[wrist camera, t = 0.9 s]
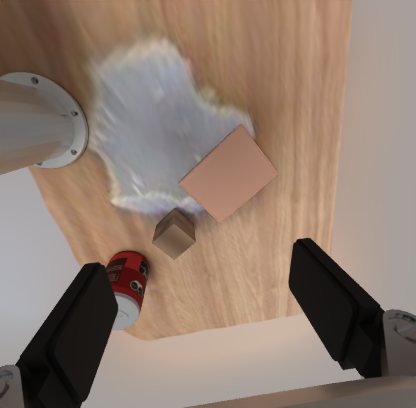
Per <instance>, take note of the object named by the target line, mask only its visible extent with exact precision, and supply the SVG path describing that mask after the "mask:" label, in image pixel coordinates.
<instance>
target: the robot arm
mask: <svg viewBox="0 0 416 408" xmlns="http://www.w3.org/2000/svg"><path fill="white" fill-rule="evenodd" d="M38 81H39V83H38ZM76 112H78V115H76ZM87 142H88V126H87V122H86V118H85V116H84V114H83V111H82V109H81V108H80V106H79V105H78V103H77V102H76V100H75V99H74V98H73V97H72V96H71V95H70V93H68V92H67V91H66V90H65V89H64V88H63V87H61V86H60V85H58V84H57V83H55V82H54V81H52V80H50V79H47V78H45V77H43V76H40V75H37V74H33V73H27V72H12V73H8V74H5V75H2V76H1V77H0V175H1V174H5V173H8V172H11V171H14V170H18V169H20V168H24V167H27V166H30V165H32V166H35V167H39V168H45V169H55V168H60V167H64V166H67V165H69V164H71V163H73V162H75V161H76V160H77V159H78V158H79V157H80V156H81V155H82V154H83V152H84V151H85V148H86V146H87ZM75 150H76V151H77V153H76V152H75ZM289 288H290V290H291V292H292V294H293V295H294V297H295V298H296V300H297V302H298V303H299V305H300V307H301V308H302V310H303V312H304V313H305V315H306V316H307V318H308V320H309V321H310V323H311V325H312V326H313V328H314V329H315V331H316V333H317V335H318V336H319V338H320V339H321V341H322V342H323V344H324V346H325V348H326V349H327V351H328V352H329V354H330V356H331V357H332V359H333V360H334V361H338V363H339V364H340V366H341V368H342V369H343V370H346V369H353V368H356V370H357V371H358V373H359V374H360V375H361V380H354V381H346V382H340V383H332V384H326V385H319V386H314V387H307V388H301V389H295V390H289V391H283V392H276V393H270V394H263V395H258V396H251V397H246V398H240V399H233V400H227V401H221V402H215V403H209V404H203V405H198V406H192V407H186V408H416V316H415V315H413V314H411V313H408V312H405V311H401V310H394V309H392V310H387V311H386V312H385V311H384V310H383V309H382V308H381V307H380V305H379V304H378V303H377V302H376V301H375V300H374V299H373V298H372V297H371V296H370V295H369V294H368V293H367V292H366V291H365V290H364V289H363V288H362V287H361V286H359V284H357V283H356V282H355V281H354V280H353V279H352V278H351V277H350V276H349V275H348V274H347V273H346V272H345V271H344V270H343V269H342V268H341V267H340V266H339V265H338V264H337V263H336V262H335V261H334V260H333V259H331V258H330V257H329V256H328V255H327V254H326V253H325V252H324V251H323V250H322V249H321V248H320V247H319V246H318V245H317V244H316V243H315V242H314V241H313V240H312V239H310V238H304V239H298V240H297V241H296V242H295V243H294V244H293V250H292V258H291V266H290V274H289ZM117 313H118V303H117V300H116V297H115V294H114V292H113V289H112V286H111V283H110V280H109V277H108V274H107V271H106V268H105V266H104V265H101V264H100V263H99V262H97V263H88V264H85V265H84V266H83V267H82V269H81V270H80V272H79V273H78V274H77V276H76V277H75V279H74V280H73V282H72V283H71V284H70V286H69V287H68V289H67V290H66V292H65V293H64V294H63V296H62V297H61V299H60V300H59V301H58V303H57V304H56V306H55V307H54V309H53V310H52V312H51V313H50V314H49V316H48V317H47V319H46V320H45V321H44V323H43V324H42V326H41V327H40V329H39V330H38V331H37V333H36V334H35V336H34V337H33V339H32V340H31V341H30V343H29V344H28V346H27V347H26V349H25V350H24V351H23V353H22V354H21V356H20V359H19V360H18V362H17V363H16V364H15V365H5V366H2V367H0V408H80V407H81V404H82V402H84V401H85V400H86V399H87V397H88V395H89V392H90V389H91V386H92V384H93V381H94V378H95V375H96V372H97V369H98V367H99V364H100V361H101V358H102V356H103V353H104V350H105V347H106V344H107V342H108V339H109V336H110V333H111V330H112V328H113V325H114V322H115V319H116V316H117Z"/></svg>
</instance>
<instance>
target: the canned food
mask: <svg viewBox="0 0 416 408" xmlns="http://www.w3.org/2000/svg"><path fill="white" fill-rule="evenodd" d="M106 271H107V274H108V277H109V280H110V283H111V286H112V289H113V292H114V294H115V297H116V300H117V303H118V313H117V316H116V319H115V322H114V325H113V328H112V330H121V329H125V328H128V327H130V326H132V325H133V324H134V323H135V322H136V321H137V320H138V317H139V315H140V311H141V307H142V302H143V298H144V293H145V288H146V284H147V279H148V274H149V265H148V262H147V260H146V259H145V258H144V257H143V256H142V255H140V254H138V253H136V252H132V251H124V252H120V253H118V254H116V255H115V256H114V257H112V258H111V260H110V261H109V263H108V265H107V267H106Z"/></svg>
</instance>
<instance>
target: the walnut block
mask: <svg viewBox="0 0 416 408" xmlns="http://www.w3.org/2000/svg"><path fill="white" fill-rule="evenodd" d="M195 242H196V239H195V230H194V224H193V223H192V222H191V221H189V220H188V219H187V218H186V217H185V216H184V215H183V214H182V213H180V212H179V211H178V210H177V209H176V208H174V209H173V210H172V211H171V212H170V213H169V214H168V215H167V216H166V217H165V218H163V219H162V220H161V221H160V222H159V223H158V224H157V225H156V229H155V233H154V237H153V241H152V243H153V244H154V245H155V246H157V247H158V248H160V249H161V250H162V251H164V252H165V253H166V254H168V255H169V256H170V257H172V258H173V259H174V260H175V259H176V258H177V257H179V256H180V255H181V254H182V253H183V252H184V251H186V250H187V249H188V248H189V247H190V246H191V245H193V244H194V243H195Z"/></svg>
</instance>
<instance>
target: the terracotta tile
mask: <svg viewBox="0 0 416 408" xmlns="http://www.w3.org/2000/svg"><path fill="white" fill-rule="evenodd" d="M278 174H279V173H278V172H277V170H276V169H275V168H274V166H273V165H272V164H271V162H270V161H269V160H268V159H267V157H266V156H265V155H264V153H263V152H262V151H261V149H260V148H259V147H258V145H257V144H256V143H255V142H254V140H253V139H252V138H251V136H250V135H249V134H248V132H247V131H246V130H245V128H244V127H243V126H242V124H240V125H238V126H237V127H236V128H235V129H234V130H233V131H232V132H231V133H230V134H229V135H228V136H227V137H226V138H225V139H224V140H223V141H222V142H221V143H219V144H218V145H217V146H216V147H215V148H214V149H213V150H212V151H211V152H210V153H209V154H208V155H207V156H206V157H205V158H204V159H203V160H202V161H201V162H199V163H198V164H197V165H196V166H195V167H194V168H193V169H192V170H191V171H190V172H189V173H188V174H187V175H186V176H185V177H184V178H183V179H182V180H181V181H179V185H180V186H181V187H182V188H183V189H184V190H185V191H186V192H187V193H188V194H189V195H190V196H192V197H193V198H194V199H195V200H196V201H197V202H198V203H199V204H200V205H201V206H202V207H203V208H204V209H205V210H206V211H207V212H208V213H209V214H211V215H212V216H213V217H214V218H215V219H216V220H217V221H218V222H219V223H221V222H223V221H224V220H225V219H226V218H227V217H229V216H230V215H231V214H232V213H233V212H234V211H236V210H237V209H238V208H239V207H240V206H242V205H243V204H244V203H245V202H246V201H247V200H249V199H250V198H251V197H252V196H253V195H255V194H256V193H257V192H258V191H259V190H260V189H262V188H263V187H264V186H265V185H266V184H267V183H269V182H270V181H271V180H272V179H273V178H275V177H276V176H277V175H278Z"/></svg>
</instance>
